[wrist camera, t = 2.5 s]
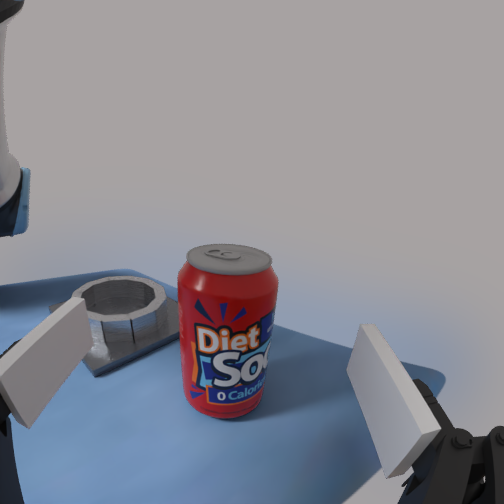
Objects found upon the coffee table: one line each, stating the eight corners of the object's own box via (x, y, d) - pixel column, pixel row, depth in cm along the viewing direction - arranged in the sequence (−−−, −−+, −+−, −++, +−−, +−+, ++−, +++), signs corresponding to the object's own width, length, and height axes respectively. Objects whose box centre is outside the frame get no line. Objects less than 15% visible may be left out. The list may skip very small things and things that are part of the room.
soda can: (208, 362, 30) (211, 236, 26) (272, 385, 28) (293, 251, 23) (169, 402, 23) (155, 257, 19) (242, 435, 21) (258, 283, 16)
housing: (50, 312, 34) (45, 288, 33) (138, 284, 48) (136, 264, 47) (94, 377, 24) (86, 348, 23) (206, 324, 39) (206, 299, 37)
